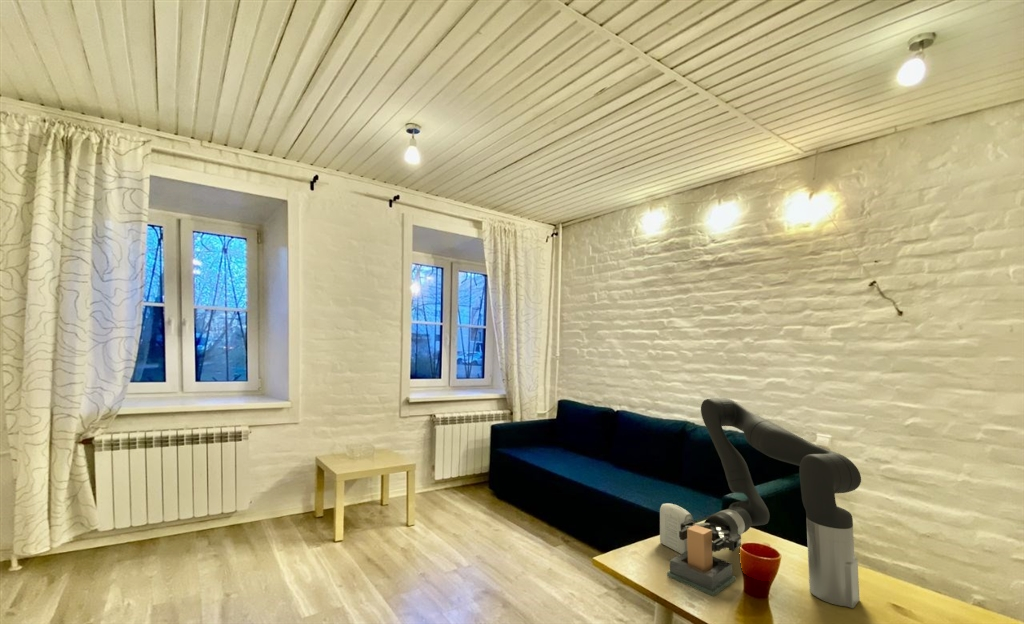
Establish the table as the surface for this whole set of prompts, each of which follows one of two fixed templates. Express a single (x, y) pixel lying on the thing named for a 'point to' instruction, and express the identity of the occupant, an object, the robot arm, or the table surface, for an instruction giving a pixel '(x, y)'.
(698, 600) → the table surface
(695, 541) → the tall orange pillar
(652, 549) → the table surface
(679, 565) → the square frame holder
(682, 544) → the photo printer
